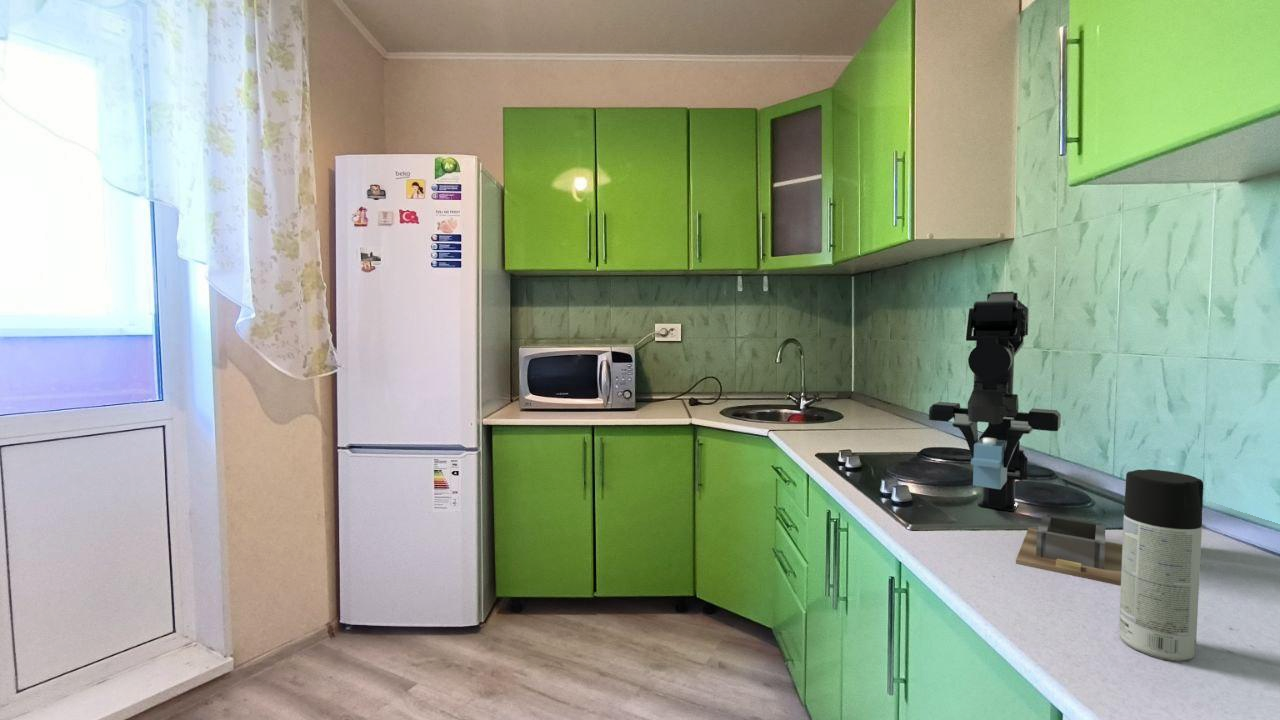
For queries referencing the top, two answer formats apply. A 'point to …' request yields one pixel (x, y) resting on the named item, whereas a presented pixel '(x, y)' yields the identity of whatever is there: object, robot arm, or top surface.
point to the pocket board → (1072, 549)
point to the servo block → (989, 463)
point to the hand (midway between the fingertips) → (990, 465)
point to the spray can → (1161, 563)
